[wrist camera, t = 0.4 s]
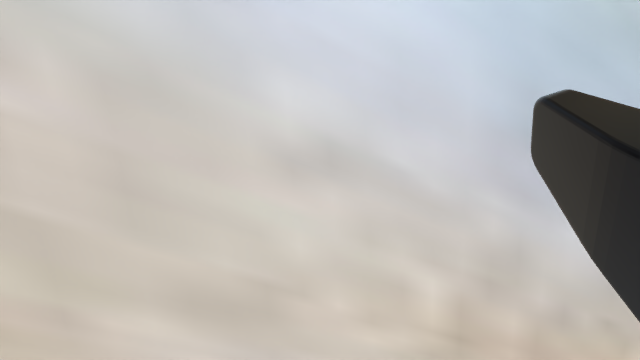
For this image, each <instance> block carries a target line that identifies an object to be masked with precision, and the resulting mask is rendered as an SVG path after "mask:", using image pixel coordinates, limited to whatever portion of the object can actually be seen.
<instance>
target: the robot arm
mask: <svg viewBox="0 0 640 360" xmlns="http://www.w3.org/2000/svg"><path fill="white" fill-rule="evenodd" d="M531 154H532V159H533V162H534V164H535V166H536V168H537V170H538V172H539V173H540V175H541V177H542V178H543V180H544V182H545V183H546V185H547V187H548V188H549V190H550V192H551V193H552V195H553V197H554V198H555V200H556V202H557V203H558V205H559V207H560V208H561V210H562V212H563V213H564V215H565V217H566V218H567V220H568V222H569V223H570V225H571V227H572V228H573V230H574V232H575V233H576V235H577V237H578V238H579V240H580V242H581V243H582V245H583V246H584V248H585V249H586V251H587V253H588V254H589V256H590V257H591V259H592V260H593V262H594V263H595V264H596V266H597V267H598V268H599V270H600V271H601V272H602V274H603V275H604V276H605V278H606V279H607V280H608V282H609V283H610V284H611V286H612V287H613V288H614V289H615V291H616V292H617V293H618V295H619V296H620V297H621V299H622V300H623V301H624V302H625V304H626V305H627V306H628V308H629V309H630V310H631V312H632V313H633V314H634V315H635V317H636V318H637V319H638V321H639V322H640V109H638V108H634V107H631V106H627V105H624V104H620V103H617V102H613V101H609V100H606V99H602V98H599V97H595V96H592V95H588V94H585V93H581V92H578V91H574V90H562V91H559V92H556V93H553V94H549V95H546V96H543V97H541V98H539V99H538V100H537V101H536V103H535V105H534V110H533V124H532V139H531Z"/></svg>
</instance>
